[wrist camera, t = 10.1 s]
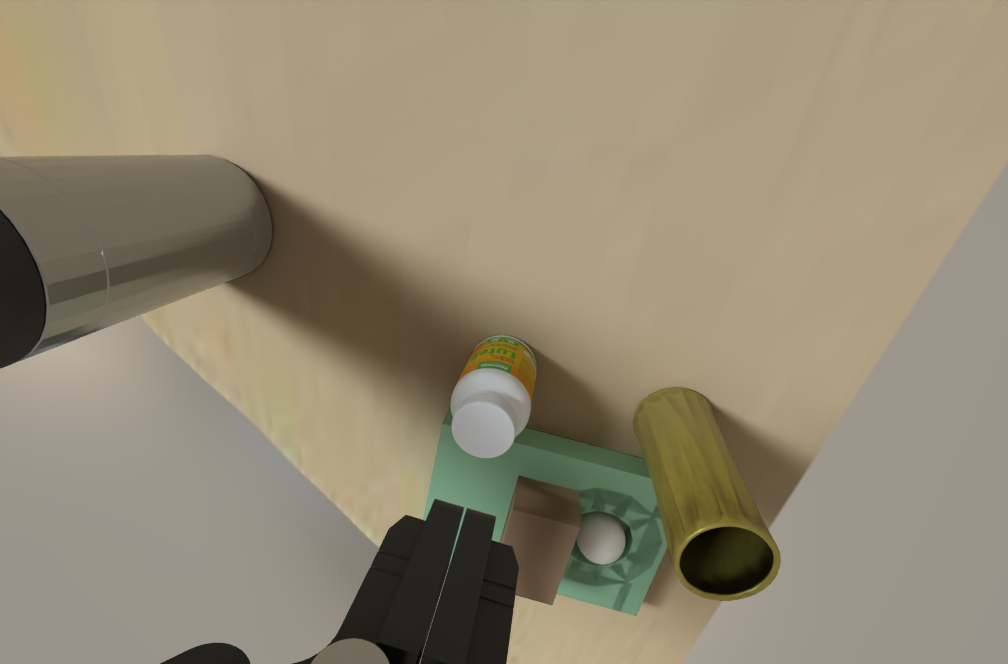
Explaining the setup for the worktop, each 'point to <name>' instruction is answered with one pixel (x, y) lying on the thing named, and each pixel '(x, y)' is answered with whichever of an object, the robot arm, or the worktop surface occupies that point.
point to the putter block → (541, 535)
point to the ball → (601, 538)
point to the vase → (703, 499)
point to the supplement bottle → (493, 396)
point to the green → (603, 488)
